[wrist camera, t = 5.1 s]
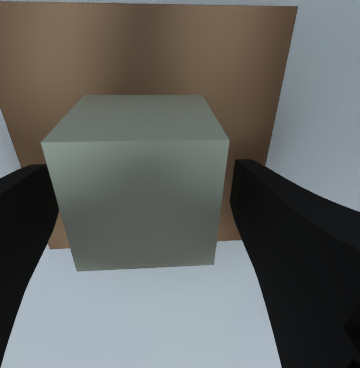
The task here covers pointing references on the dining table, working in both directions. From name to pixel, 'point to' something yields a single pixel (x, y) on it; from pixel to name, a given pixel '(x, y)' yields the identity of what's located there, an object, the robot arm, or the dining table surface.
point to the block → (139, 180)
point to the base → (144, 70)
